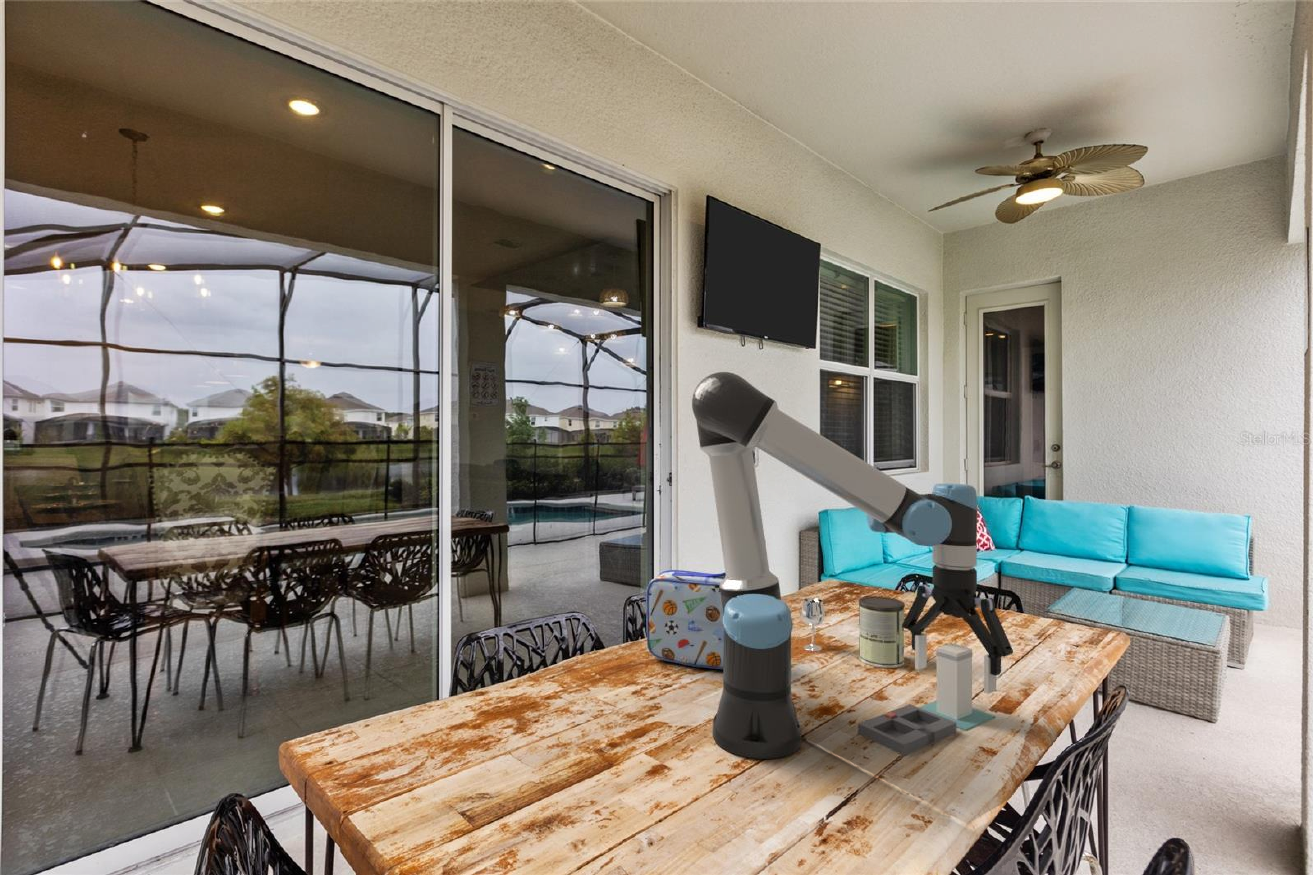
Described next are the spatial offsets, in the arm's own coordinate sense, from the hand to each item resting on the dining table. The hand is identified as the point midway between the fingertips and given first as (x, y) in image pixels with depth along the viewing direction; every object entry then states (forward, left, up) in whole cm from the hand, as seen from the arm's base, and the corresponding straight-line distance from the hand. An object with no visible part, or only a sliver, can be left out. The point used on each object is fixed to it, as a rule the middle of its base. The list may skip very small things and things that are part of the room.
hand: (953, 679), depth 115 cm
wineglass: (+8, +42, -7) cm, 43 cm away
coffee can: (+15, +27, -7) cm, 32 cm away
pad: (0, 0, -7) cm, 7 cm away
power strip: (-14, 0, -7) cm, 16 cm away
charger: (0, 0, -6) cm, 6 cm away
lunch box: (-22, +48, -7) cm, 53 cm away
